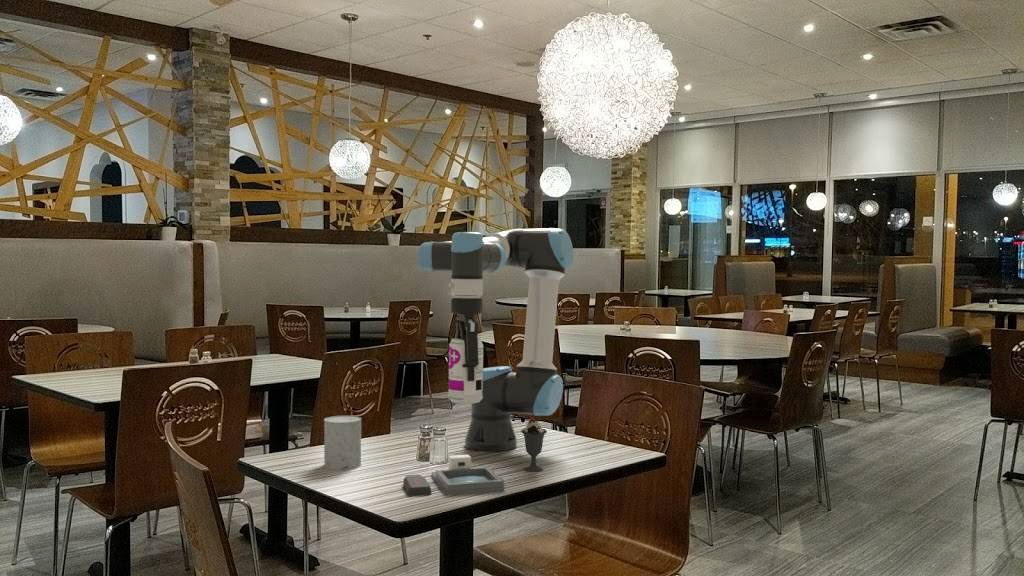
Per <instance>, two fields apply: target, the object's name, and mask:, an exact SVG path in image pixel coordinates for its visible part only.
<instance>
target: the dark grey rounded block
mask: <svg viewBox="0 0 1024 576" xmlns="http://www.w3.org/2000/svg"><path fill="white" fill-rule="evenodd" d="M402 485H403V488H404V490H405V492H406V494H407V495H408V497H410V496H411V497H413V496H414V497H415V496H430V495H432V488H431V485H430V484H429V482H428V481H427V479H426V478H425V477H424V476H422V475H421V474H407V475H405V477H404V478H403V484H402Z"/></svg>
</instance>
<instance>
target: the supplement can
mask: <svg viewBox="0 0 1024 576" xmlns="http://www.w3.org/2000/svg"><path fill="white" fill-rule="evenodd" d="M478 362H479V364H478V365H477V366H476V395H464V367H462V365H463V364H465V344H464V340H462V339H459V338H456V337H453V338H451V341H450V342H449V344H448V395H447V396H448V400H450V402H451V403H454V404H459V405H460V404H463V405H466V404H467V405H468V404H472V403H478V402H480V400H482V399H483V368H484V344H483V341H482V340H481V338H479V337H478Z"/></svg>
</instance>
